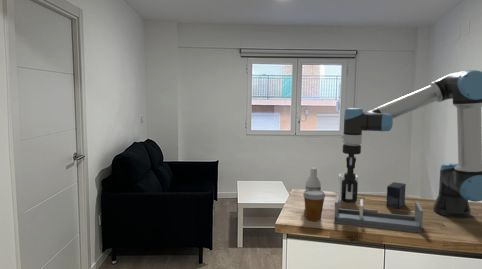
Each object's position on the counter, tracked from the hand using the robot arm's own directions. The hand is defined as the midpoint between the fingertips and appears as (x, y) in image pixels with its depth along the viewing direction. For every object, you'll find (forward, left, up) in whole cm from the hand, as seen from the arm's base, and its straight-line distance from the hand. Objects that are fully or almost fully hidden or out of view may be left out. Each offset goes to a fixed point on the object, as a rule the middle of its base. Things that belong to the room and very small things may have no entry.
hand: (349, 196), depth 163 cm
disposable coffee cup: (+14, +5, -10) cm, 18 cm away
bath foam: (+16, -8, -10) cm, 21 cm away
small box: (-22, -28, -11) cm, 37 cm away
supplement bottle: (0, 0, -2) cm, 2 cm away
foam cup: (+1, -29, -10) cm, 31 cm away
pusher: (-8, 0, -9) cm, 12 cm away
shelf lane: (-12, 0, -10) cm, 15 cm away
